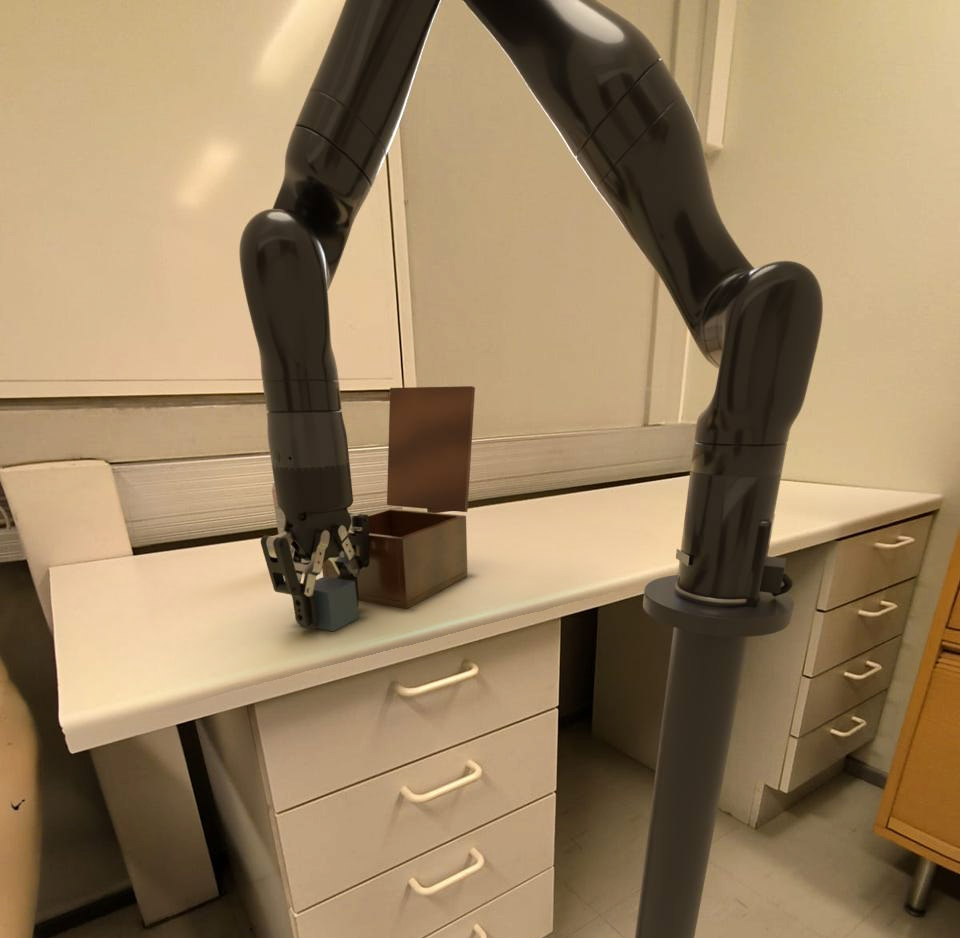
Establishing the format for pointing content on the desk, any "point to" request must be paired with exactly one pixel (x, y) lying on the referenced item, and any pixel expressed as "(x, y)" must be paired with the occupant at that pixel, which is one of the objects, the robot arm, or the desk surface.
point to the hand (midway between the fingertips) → (330, 616)
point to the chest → (410, 556)
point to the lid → (430, 447)
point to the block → (335, 602)
